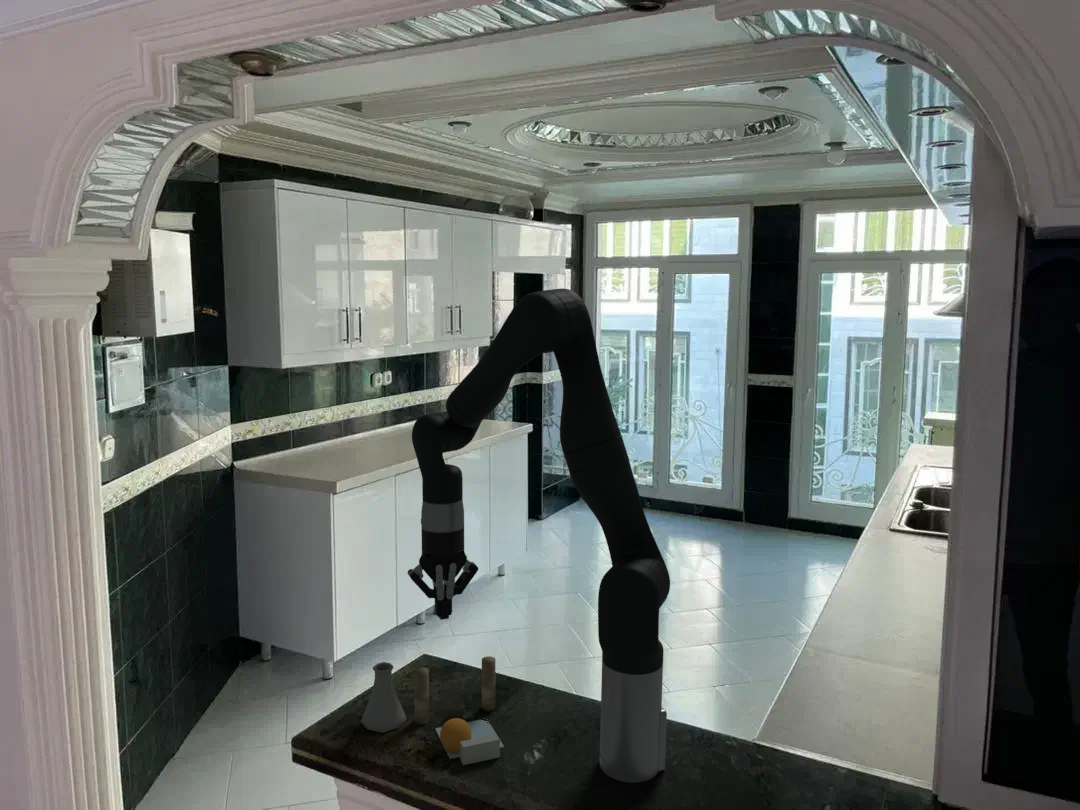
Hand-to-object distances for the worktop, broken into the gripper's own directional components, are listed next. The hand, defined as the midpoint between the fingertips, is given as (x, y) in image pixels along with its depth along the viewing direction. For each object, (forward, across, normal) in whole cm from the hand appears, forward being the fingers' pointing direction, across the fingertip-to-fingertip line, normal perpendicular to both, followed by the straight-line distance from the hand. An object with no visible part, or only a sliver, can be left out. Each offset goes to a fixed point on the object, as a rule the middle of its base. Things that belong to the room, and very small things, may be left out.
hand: (443, 617), depth 142 cm
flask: (+15, -12, -6) cm, 20 cm away
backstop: (+14, 0, -22) cm, 26 cm away
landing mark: (+14, 0, -16) cm, 22 cm away
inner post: (+14, +6, -8) cm, 17 cm away
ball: (+12, -3, -18) cm, 22 cm away
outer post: (+14, -6, -8) cm, 17 cm away
